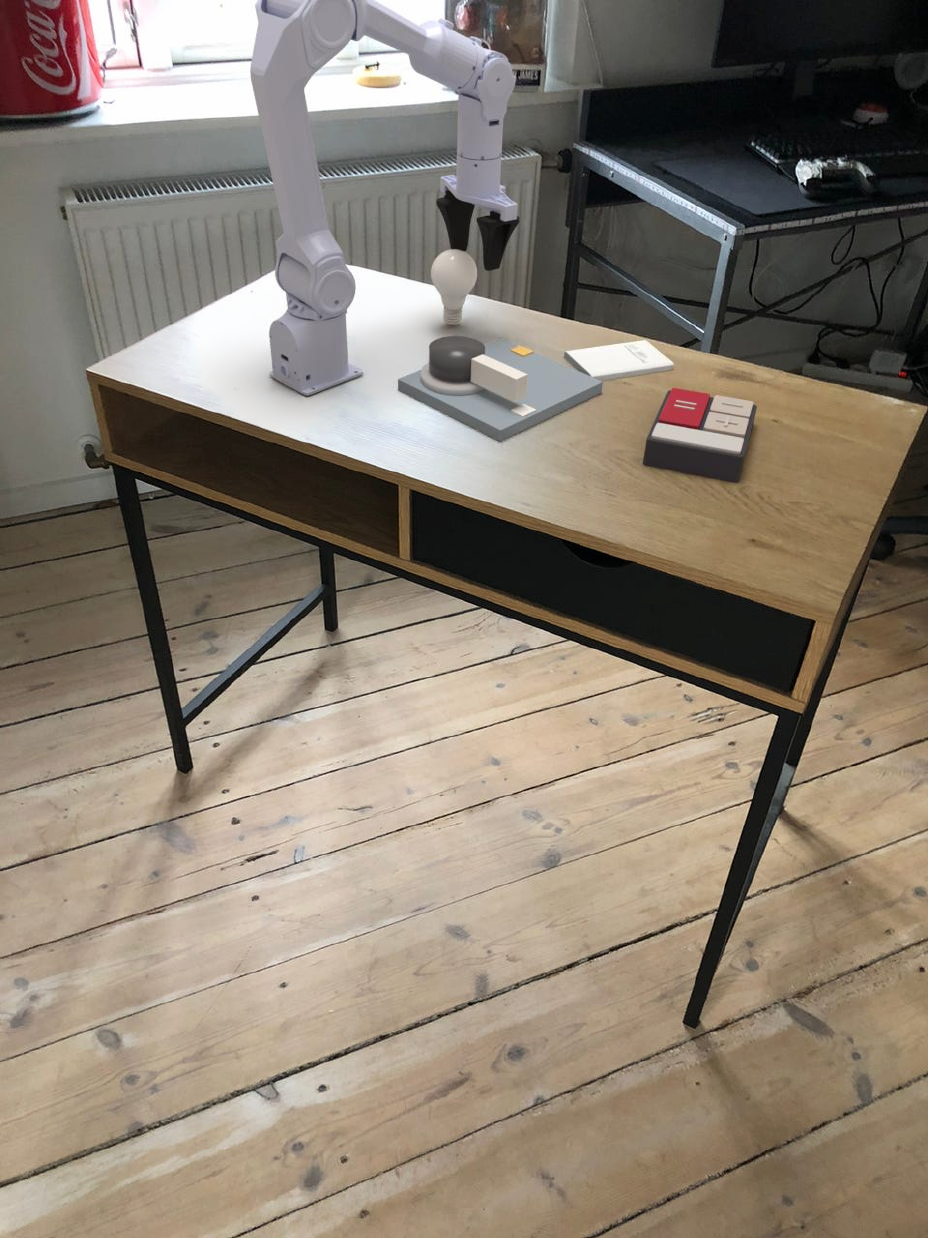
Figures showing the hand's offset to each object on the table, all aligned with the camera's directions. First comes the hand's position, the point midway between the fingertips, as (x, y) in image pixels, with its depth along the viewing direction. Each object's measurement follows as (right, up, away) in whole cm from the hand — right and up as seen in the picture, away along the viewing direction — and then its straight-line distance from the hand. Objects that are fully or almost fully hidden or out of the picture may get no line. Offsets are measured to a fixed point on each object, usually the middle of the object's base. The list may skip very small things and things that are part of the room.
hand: (475, 260), depth 139 cm
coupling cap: (0, -19, -12) cm, 23 cm away
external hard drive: (+19, -15, 0) cm, 24 cm away
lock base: (+3, -20, -8) cm, 22 cm away
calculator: (+27, -28, -17) cm, 42 cm away
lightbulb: (-3, -7, +8) cm, 11 cm away
